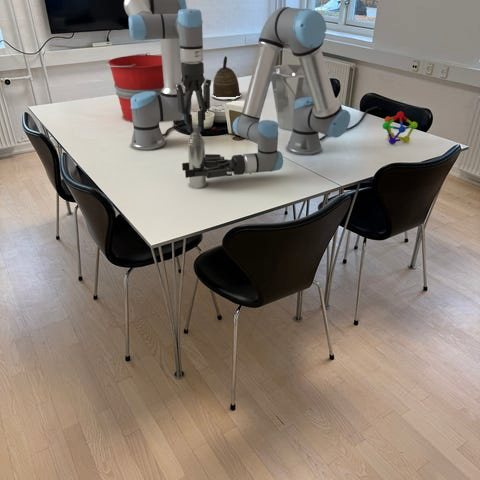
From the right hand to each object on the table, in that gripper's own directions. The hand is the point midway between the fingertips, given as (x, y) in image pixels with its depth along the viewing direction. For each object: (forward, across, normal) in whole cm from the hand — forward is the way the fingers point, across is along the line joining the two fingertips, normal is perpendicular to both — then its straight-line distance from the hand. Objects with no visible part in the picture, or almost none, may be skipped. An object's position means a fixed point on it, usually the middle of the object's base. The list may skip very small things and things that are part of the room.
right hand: (184, 170), depth 165 cm
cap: (-5, 0, +16) cm, 17 cm away
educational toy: (-105, +22, -6) cm, 107 cm away
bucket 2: (-69, +60, -6) cm, 91 cm away
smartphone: (-15, +20, -6) cm, 26 cm away
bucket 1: (+6, +97, -6) cm, 97 cm away
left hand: (-5, 0, +15) cm, 16 cm away
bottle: (-5, 0, -6) cm, 8 cm away
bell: (-48, +124, -6) cm, 133 cm away
